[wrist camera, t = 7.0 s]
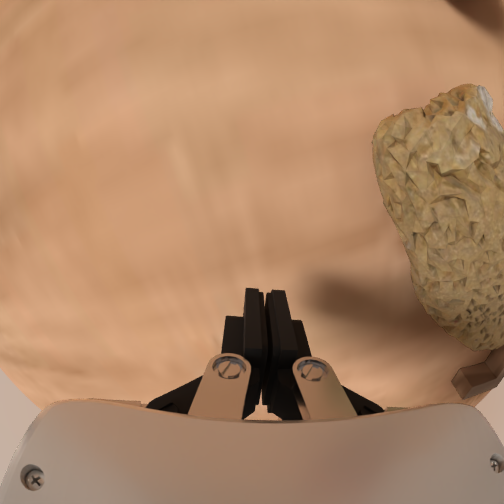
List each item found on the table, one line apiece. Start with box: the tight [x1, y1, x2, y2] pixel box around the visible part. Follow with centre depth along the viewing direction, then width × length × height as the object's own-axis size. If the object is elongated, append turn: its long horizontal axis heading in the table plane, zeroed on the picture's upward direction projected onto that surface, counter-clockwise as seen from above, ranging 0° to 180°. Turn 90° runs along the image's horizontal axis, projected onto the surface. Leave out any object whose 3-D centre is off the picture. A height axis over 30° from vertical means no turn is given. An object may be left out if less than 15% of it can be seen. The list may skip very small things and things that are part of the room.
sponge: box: [372, 84, 504, 351], centre depth 12 cm, size 13×8×20 cm
